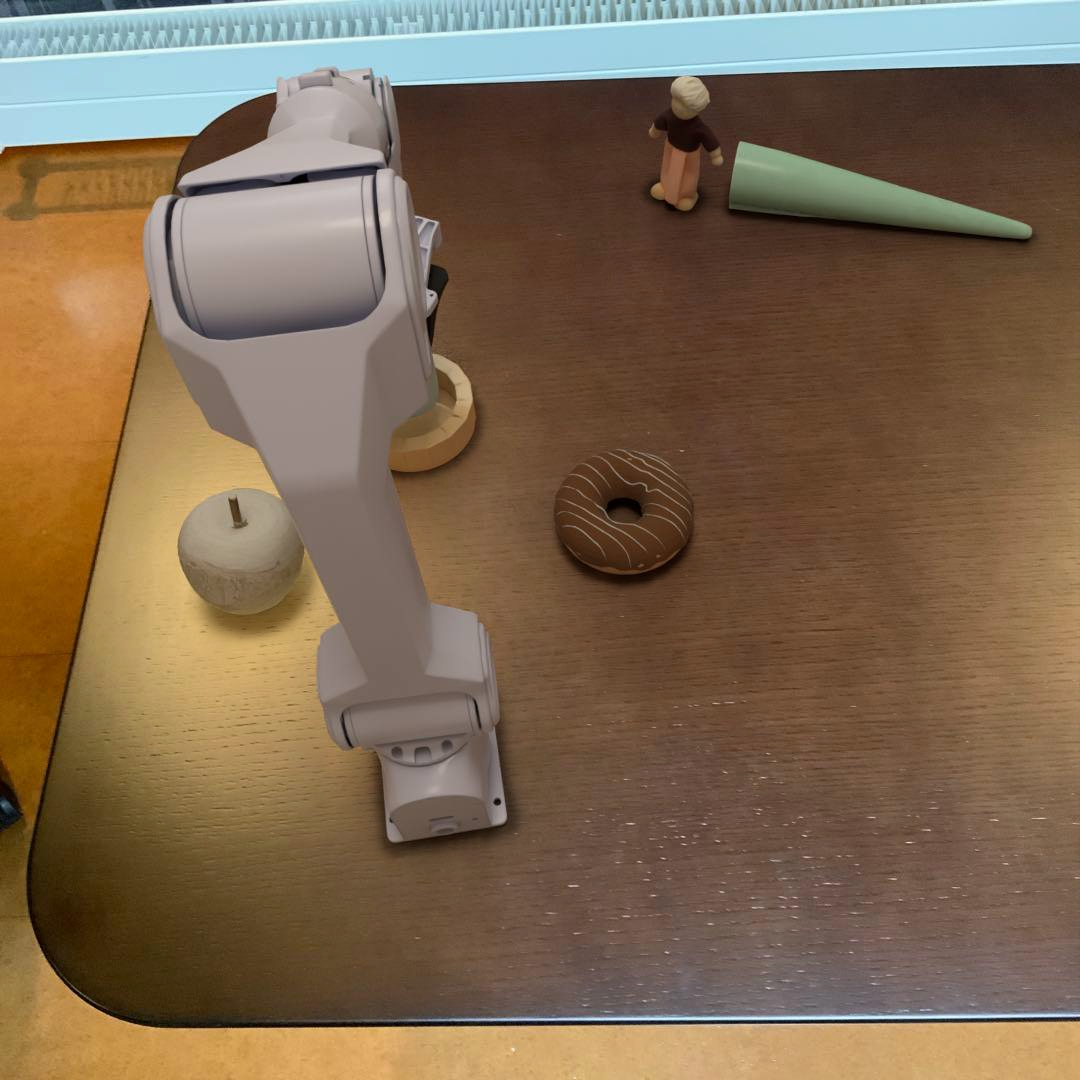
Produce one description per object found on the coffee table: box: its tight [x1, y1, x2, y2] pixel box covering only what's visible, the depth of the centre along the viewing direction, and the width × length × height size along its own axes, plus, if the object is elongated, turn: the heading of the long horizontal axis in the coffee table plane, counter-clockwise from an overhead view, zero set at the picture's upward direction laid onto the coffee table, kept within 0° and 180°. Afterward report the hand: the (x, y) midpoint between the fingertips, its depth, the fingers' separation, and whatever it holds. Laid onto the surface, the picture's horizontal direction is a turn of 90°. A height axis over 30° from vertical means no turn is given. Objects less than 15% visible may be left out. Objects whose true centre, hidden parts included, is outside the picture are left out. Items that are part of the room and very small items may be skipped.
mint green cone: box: [728, 140, 1033, 240], centre depth 94 cm, size 5×6×27 cm
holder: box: [388, 353, 477, 473], centre depth 86 cm, size 10×10×3 cm
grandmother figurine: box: [648, 75, 724, 212], centre depth 93 cm, size 8×4×13 cm, turn 62°
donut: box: [553, 448, 695, 575], centre depth 79 cm, size 11×11×4 cm
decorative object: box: [176, 487, 306, 616], centre depth 76 cm, size 9×9×10 cm
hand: (403, 371), depth 81 cm, fingers closed on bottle, 5 cm apart
